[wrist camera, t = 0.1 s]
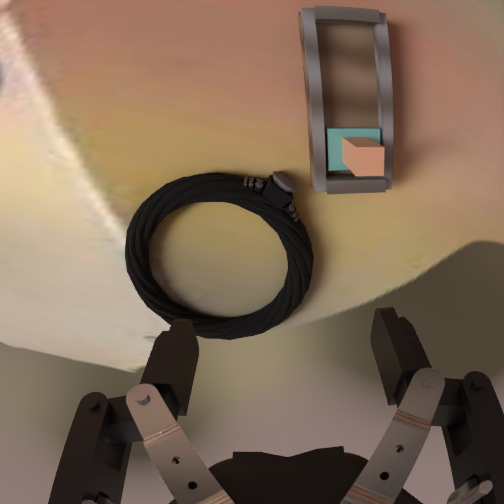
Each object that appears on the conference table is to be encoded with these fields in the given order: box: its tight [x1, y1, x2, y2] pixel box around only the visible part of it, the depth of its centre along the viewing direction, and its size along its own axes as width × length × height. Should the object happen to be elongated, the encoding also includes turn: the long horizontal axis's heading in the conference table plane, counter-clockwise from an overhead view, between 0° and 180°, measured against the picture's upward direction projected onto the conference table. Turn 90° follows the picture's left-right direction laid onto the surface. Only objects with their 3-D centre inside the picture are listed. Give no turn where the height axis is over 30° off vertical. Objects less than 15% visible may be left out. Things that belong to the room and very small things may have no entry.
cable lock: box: [125, 171, 313, 340], centre depth 44 cm, size 28×4×30 cm
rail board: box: [298, 6, 393, 194], centre depth 32 cm, size 22×10×4 cm, turn 6°
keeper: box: [325, 127, 384, 176], centre depth 32 cm, size 5×6×8 cm
